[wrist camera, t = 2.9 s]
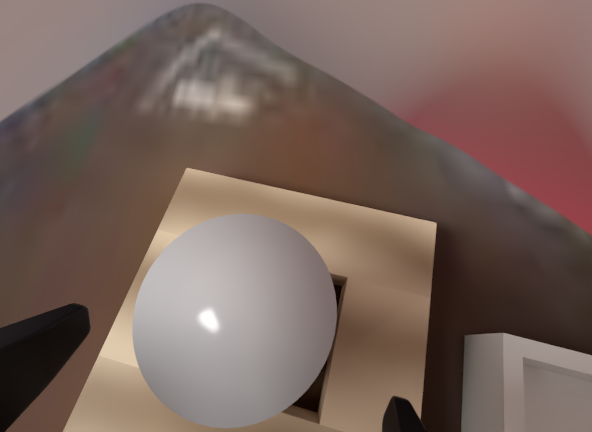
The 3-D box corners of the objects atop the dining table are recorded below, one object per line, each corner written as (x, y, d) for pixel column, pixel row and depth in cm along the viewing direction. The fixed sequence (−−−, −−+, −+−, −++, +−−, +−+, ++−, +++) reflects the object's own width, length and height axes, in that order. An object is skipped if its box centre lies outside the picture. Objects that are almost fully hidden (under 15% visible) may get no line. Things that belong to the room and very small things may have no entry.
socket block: (388, 549, 13) (406, 591, 11) (87, 443, 15) (49, 461, 13) (420, 237, 19) (436, 222, 17) (199, 187, 21) (186, 167, 18)
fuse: (306, 391, 16) (311, 462, 6) (216, 364, 16) (92, 390, 7) (326, 296, 18) (354, 236, 8) (245, 274, 18) (181, 196, 9)
